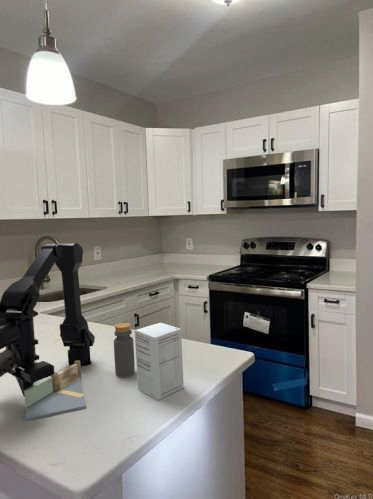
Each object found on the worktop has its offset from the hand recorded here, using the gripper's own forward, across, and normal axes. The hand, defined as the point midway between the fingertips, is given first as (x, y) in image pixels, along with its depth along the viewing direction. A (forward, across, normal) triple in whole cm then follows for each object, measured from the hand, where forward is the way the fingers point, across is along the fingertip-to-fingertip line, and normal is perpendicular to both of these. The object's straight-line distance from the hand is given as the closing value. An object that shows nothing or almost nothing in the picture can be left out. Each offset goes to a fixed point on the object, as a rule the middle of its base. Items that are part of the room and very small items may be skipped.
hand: (26, 396), depth 93 cm
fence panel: (+1, +2, +3) cm, 3 cm away
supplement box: (+2, +23, +26) cm, 35 cm away
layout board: (+2, +2, +7) cm, 8 cm away
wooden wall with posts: (+2, -1, +12) cm, 12 cm away
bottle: (+2, +7, +27) cm, 28 cm away
